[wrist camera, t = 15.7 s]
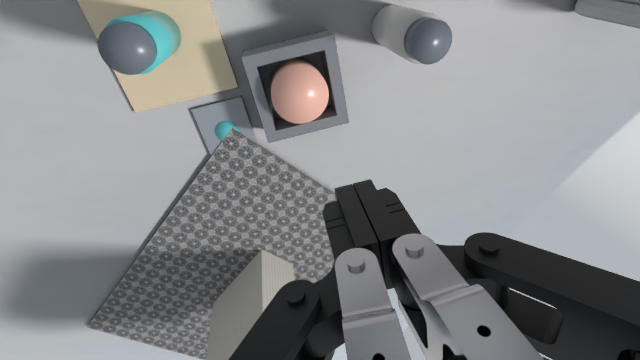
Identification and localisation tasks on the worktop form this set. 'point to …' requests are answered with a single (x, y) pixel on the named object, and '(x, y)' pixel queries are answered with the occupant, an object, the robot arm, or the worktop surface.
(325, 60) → the button housing
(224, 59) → the sketch pad
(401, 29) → the marker grey
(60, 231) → the worktop surface
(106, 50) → the marker teal
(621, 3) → the digital clock
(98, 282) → the worktop surface
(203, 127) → the card
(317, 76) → the button
